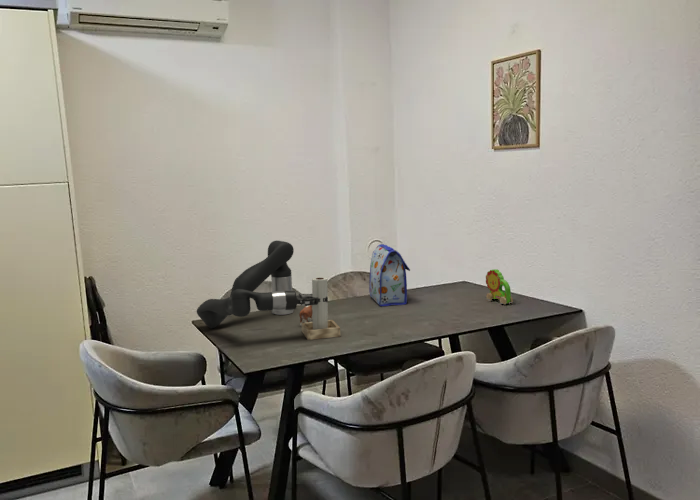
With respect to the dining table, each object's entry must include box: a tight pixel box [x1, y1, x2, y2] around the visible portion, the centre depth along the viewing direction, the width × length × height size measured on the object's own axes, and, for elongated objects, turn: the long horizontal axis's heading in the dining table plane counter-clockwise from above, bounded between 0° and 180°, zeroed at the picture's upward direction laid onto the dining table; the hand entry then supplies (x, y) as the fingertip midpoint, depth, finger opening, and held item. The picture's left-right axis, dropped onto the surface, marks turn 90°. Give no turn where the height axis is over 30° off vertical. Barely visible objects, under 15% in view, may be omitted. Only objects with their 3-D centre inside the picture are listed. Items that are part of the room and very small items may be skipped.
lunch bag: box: [368, 243, 411, 307], centre depth 299 cm, size 23×17×27 cm
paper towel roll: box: [311, 277, 329, 330], centre depth 246 cm, size 7×6×21 cm
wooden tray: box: [301, 319, 341, 341], centre depth 248 cm, size 13×13×4 cm
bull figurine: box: [298, 305, 313, 327], centre depth 264 cm, size 4×13×8 cm, turn 161°
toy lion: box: [485, 269, 514, 305], centre depth 288 cm, size 16×5×15 cm, turn 25°
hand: (326, 298), depth 246 cm, fingers closed on paper towel roll, 3 cm apart
